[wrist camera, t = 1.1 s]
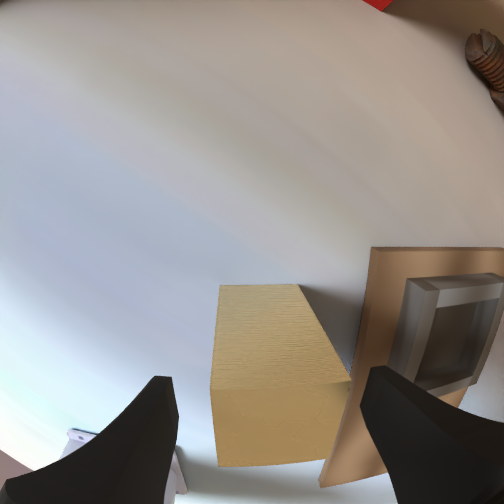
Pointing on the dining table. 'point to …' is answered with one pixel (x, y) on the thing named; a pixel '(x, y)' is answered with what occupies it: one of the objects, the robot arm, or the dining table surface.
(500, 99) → the bolt
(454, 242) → the dining table surface
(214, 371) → the wooden bar
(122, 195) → the dining table surface
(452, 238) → the dining table surface
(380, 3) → the baking soda box
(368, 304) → the socket board
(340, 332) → the dining table surface
